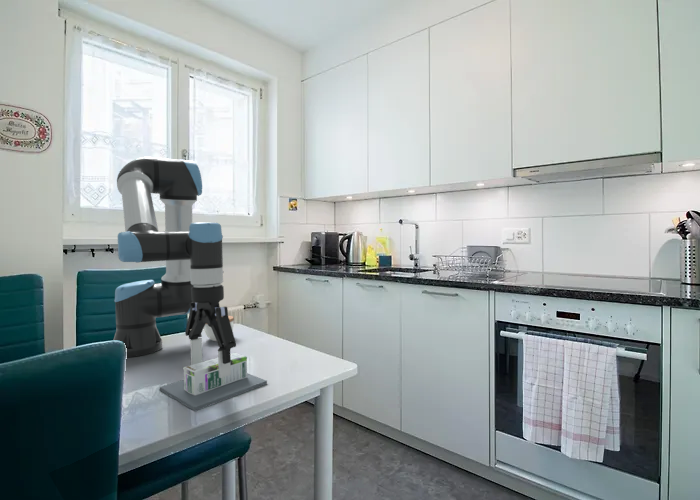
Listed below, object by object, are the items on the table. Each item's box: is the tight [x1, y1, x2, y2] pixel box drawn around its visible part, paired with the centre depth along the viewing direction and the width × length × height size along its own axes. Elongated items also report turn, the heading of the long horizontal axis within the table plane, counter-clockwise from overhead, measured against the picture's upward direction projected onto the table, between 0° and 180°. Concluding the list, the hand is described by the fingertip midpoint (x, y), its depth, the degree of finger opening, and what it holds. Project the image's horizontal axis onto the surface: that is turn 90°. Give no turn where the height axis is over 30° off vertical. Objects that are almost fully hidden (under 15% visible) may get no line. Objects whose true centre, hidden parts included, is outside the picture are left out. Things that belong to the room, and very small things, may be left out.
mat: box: [159, 372, 268, 412], centre depth 94 cm, size 18×19×1 cm
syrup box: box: [182, 352, 248, 395], centre depth 94 cm, size 6×6×14 cm
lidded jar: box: [203, 315, 235, 342], centre depth 140 cm, size 11×11×9 cm
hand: (210, 369), depth 93 cm, fingers open, 13 cm apart
